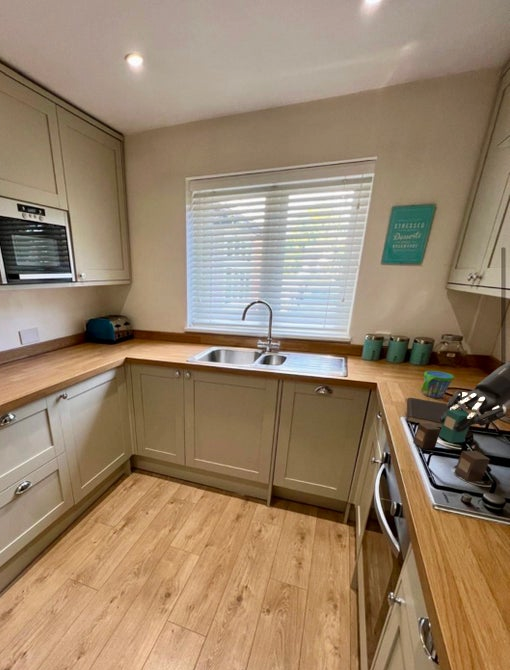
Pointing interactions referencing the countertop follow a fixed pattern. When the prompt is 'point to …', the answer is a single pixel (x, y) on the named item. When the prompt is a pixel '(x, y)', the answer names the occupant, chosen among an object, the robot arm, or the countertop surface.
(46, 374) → the countertop surface
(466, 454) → the walnut block
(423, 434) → the walnut block
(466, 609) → the countertop surface
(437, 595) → the countertop surface
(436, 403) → the hardcover book
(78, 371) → the countertop surface
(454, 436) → the teal block
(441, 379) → the snack cup
